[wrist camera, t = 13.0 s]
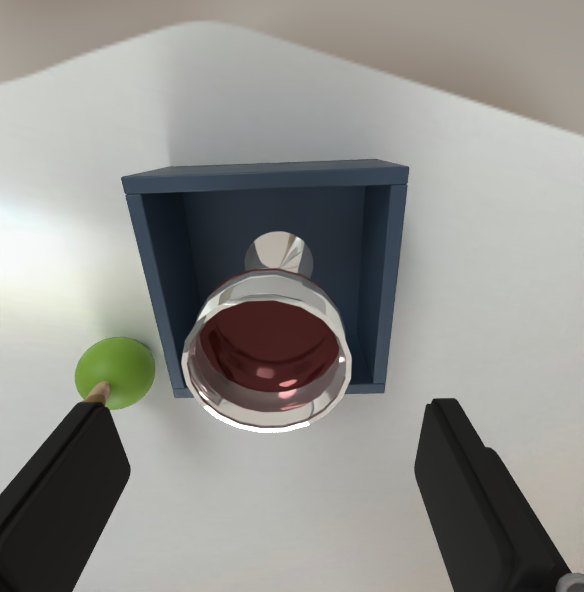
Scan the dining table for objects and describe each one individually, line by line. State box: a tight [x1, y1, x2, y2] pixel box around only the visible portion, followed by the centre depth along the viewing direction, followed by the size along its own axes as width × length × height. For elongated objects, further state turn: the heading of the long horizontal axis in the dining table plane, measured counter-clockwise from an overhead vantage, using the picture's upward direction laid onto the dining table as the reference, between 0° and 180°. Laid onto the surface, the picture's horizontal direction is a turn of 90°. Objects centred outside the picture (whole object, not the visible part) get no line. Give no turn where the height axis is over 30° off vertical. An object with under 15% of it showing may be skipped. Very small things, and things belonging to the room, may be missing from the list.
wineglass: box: [181, 231, 352, 432], centre depth 18 cm, size 7×7×12 cm
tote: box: [121, 159, 409, 398], centre depth 21 cm, size 14×14×7 cm
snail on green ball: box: [75, 337, 155, 410], centre depth 22 cm, size 5×6×12 cm
